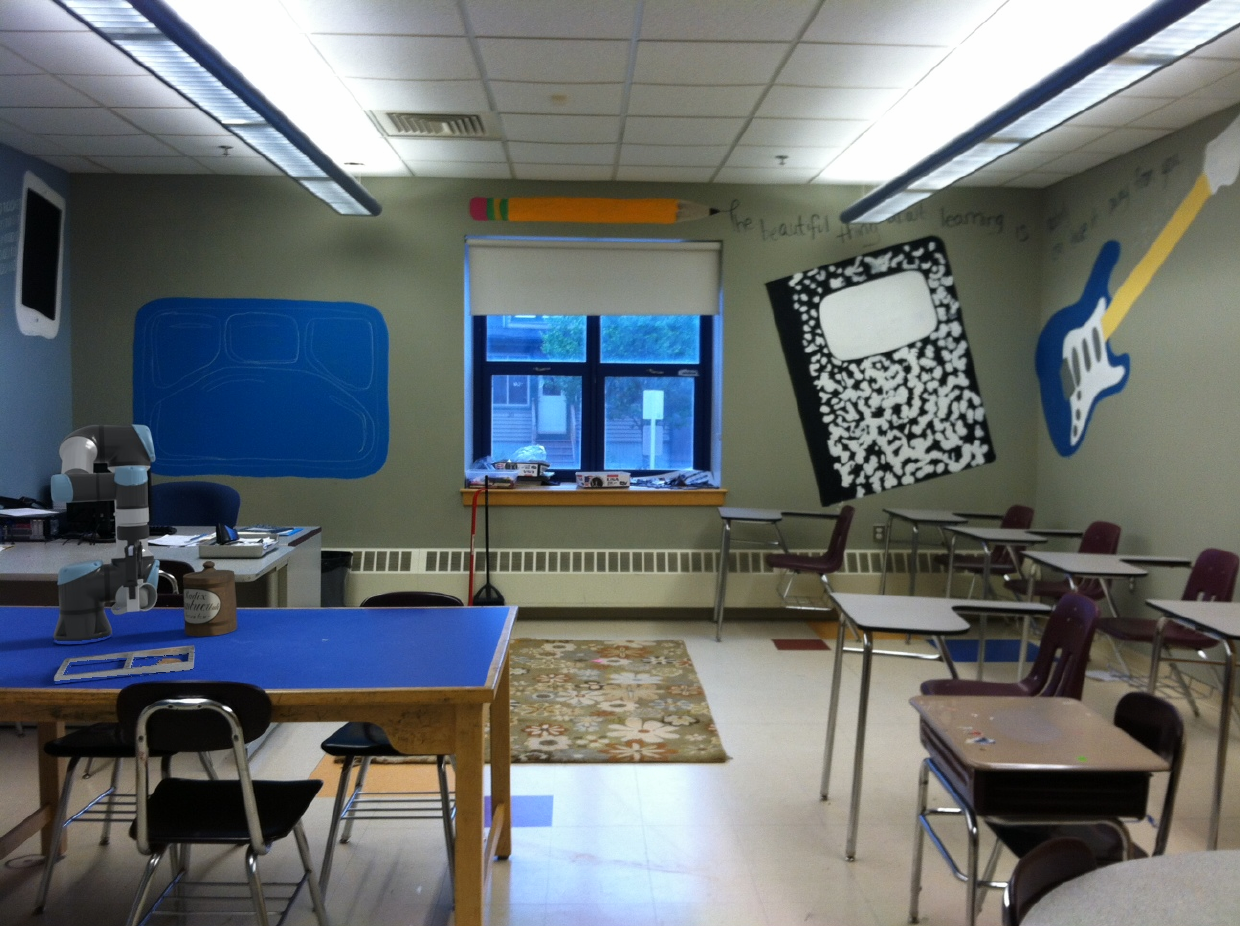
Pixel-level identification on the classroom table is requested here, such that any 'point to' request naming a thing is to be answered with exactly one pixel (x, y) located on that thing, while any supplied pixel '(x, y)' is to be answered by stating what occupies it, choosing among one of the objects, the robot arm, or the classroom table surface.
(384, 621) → the classroom table surface
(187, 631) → the wooden container
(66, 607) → the robot arm
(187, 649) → the slot rack
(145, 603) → the ceramic mug
